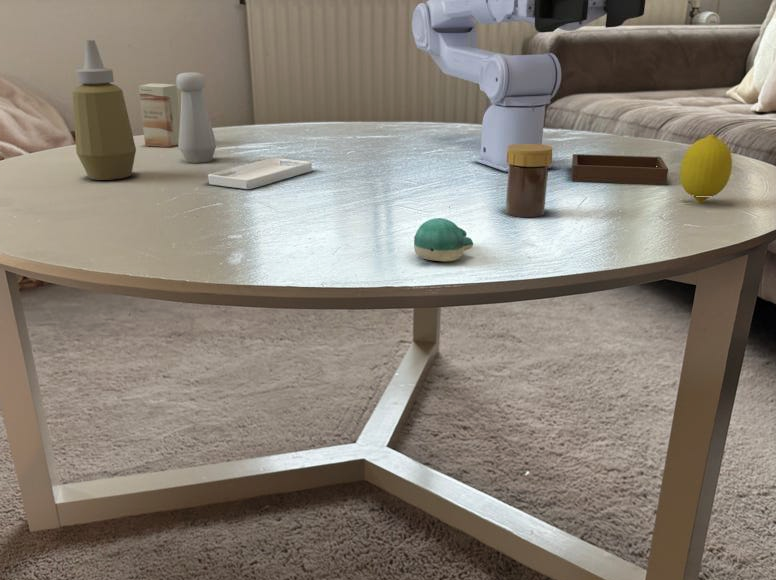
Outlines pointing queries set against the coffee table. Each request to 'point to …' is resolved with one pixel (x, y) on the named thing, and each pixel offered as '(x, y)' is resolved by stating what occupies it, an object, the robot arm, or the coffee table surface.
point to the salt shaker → (194, 120)
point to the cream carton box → (160, 114)
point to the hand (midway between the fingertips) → (614, 7)
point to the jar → (526, 190)
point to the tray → (619, 169)
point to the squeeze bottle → (101, 121)
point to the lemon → (706, 168)
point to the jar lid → (529, 155)
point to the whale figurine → (441, 240)
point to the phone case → (259, 173)
